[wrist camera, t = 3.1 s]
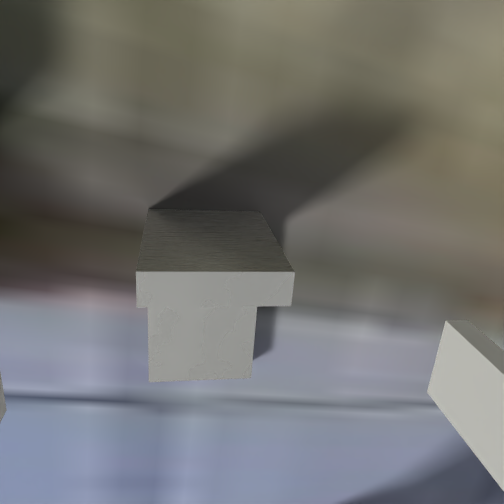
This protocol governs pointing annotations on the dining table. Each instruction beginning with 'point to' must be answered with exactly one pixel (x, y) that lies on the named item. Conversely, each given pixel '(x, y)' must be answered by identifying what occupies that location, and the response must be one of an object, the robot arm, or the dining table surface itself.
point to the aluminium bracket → (207, 290)
